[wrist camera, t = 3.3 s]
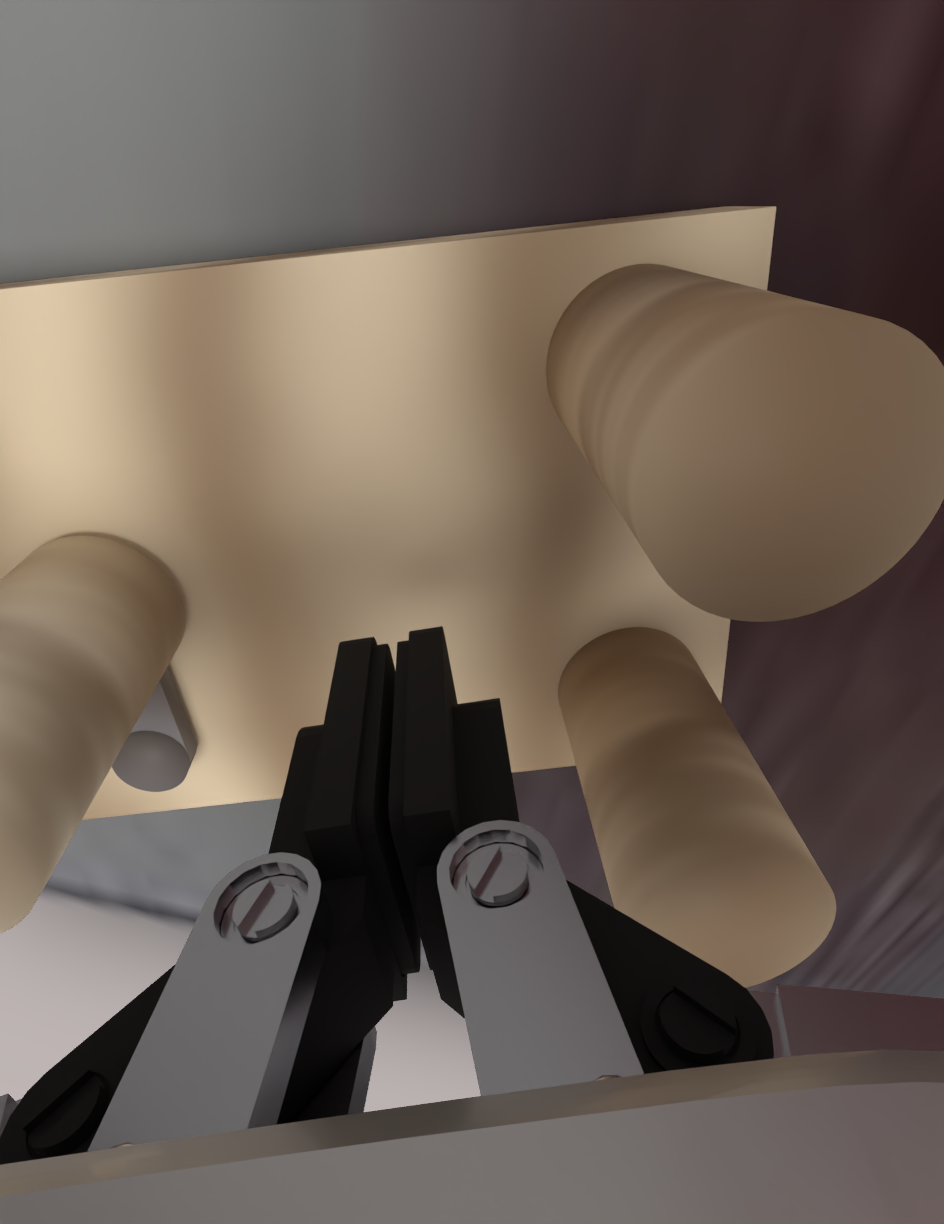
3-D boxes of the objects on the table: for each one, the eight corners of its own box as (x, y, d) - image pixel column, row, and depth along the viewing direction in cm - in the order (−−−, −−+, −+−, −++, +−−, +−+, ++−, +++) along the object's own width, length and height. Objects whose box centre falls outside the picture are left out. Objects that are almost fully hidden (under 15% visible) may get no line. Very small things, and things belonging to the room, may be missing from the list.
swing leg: (239, 762, 18) (146, 1043, 12) (101, 776, 18) (-62, 1067, 12) (158, 524, 15) (-30, 749, 9) (-12, 543, 15) (-319, 780, 9)
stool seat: (725, 206, 15) (1096, 206, 7) (686, 694, 21) (848, 999, 13) (-263, 311, 15) (-1120, 444, 7) (2, 770, 21) (-261, 1122, 13)
